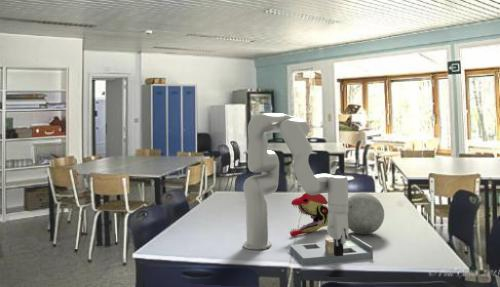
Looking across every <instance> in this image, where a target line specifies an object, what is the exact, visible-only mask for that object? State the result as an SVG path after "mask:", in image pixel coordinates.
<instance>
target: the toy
mask: <svg viewBox="0 0 500 287" xmlns="http://www.w3.org/2000/svg"><path fill="white" fill-rule="evenodd" d="M290 204H291V205H292V206H293V208H298V213H300V214H303V215H305V216H306V217H307V216H308V217H309V216H310V218H311V219H312V222H309V223H307V224H303V225H302V226H301V227H298V228H292V229H291V230H290V231H289V235H290V236H291V237H292V238H293V237H296V236H299V235H303V234H304V235H305V234H310V233H314V232H317V231H318V230H320V229H321V228H323V227H327V225H328V199H327V198H326V197H325V196H324V195H323V194H322V193H321V194H317V195H309V194H307V193H306V192H305V193H303V194H302V195H300V196H298V197H296V198H294V199H292V201H291V203H290Z"/></svg>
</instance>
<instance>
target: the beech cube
mask: <svg viewBox="0 0 500 287" xmlns="http://www.w3.org/2000/svg"><path fill="white" fill-rule="evenodd" d="M324 242H325V251H326V252H327V253H328V254H330V255H331V254H334V244H333V238H332V237H330V238H324Z"/></svg>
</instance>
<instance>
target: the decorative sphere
mask: <svg viewBox="0 0 500 287" xmlns="http://www.w3.org/2000/svg"><path fill="white" fill-rule="evenodd" d="M347 217H348V230H350V231H351V232H352V233H355V234H357V235H369V234H372V233H375V232H376V231H378V230H379V229H380V228H381V227H382V225H383V223H384V220H385V210H384V207H383V205H382V203H381V201H380V200H379V199H378V198H377V197H375V195H373V194H370V193H367V192H359V193H357V192H356V193H355V194H352V195H351V196H348V213H347Z"/></svg>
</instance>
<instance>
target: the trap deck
mask: <svg viewBox="0 0 500 287" xmlns="http://www.w3.org/2000/svg"><path fill="white" fill-rule="evenodd" d="M345 240H346V243H345V244H344V246H343V256H335V255H334V254H331V255H330V254H328V253H327V252H326V251H325V241H324V242H322V241H321V242H313V243H309V242H308V243H299V244H298V243H297V244H290V245H289V251H290V252H291V254H292V255H294V256H295V258H297V259H298V261H299V262H301V264H302V265H314V264H325V262H328V263H336V262H337V263H338V262H348V261H357V260H358V261H360V260H369V259H373V258H374V254H373V253H374V247H373V246H372V245H370V244H368V243H366V242H364V241H363V240H361V239H360V238H358V237H356V236H354V235H350V239H349V240H348V239H345Z"/></svg>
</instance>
